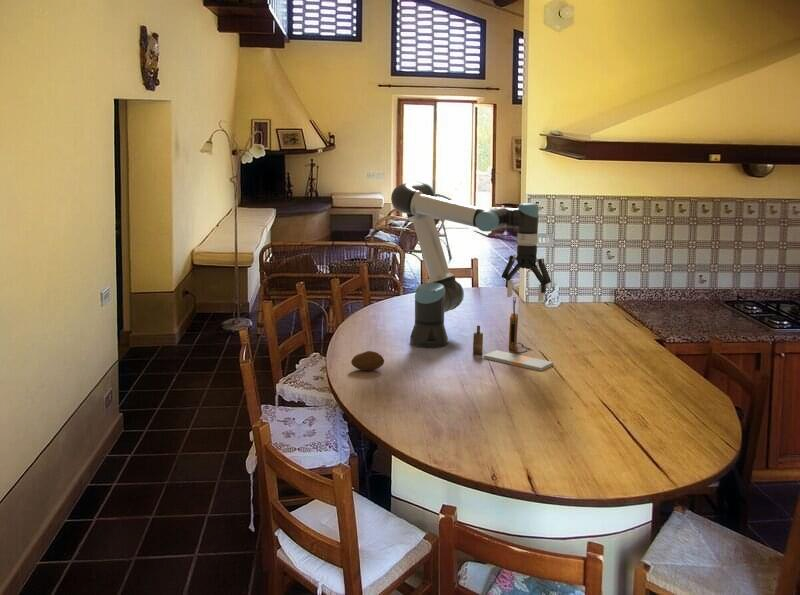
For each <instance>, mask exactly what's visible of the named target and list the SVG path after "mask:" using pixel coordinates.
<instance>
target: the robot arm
mask: <svg viewBox="0 0 800 595" xmlns="http://www.w3.org/2000/svg"><path fill="white" fill-rule="evenodd" d="M390 200H391V204H392V206H393V208H394V209H395V210H396V211H397V212H399V213H403V214H406V216H407V219H408V220H409V221H411V222H412V224H413V227H414V231H415V234H416V237H417V240H418V241H417V242H418V245H419V248H420V251H421V255H422V258H423V262H424V264H425V267H426V271H427V274H428V280H427V282H426V283H425V282H424V283H422V284H420V285H417V287H416V288H415V294H414V325H413V328H412V331H411V334H410V336H409V343H410V344H411V345H412V346H415V347H419V348H426V349H430V348H431V349H432V348H433V349H434V348H442V347H445V346H447V345H448V344H449V336H448V334H447V331H446V330H447V329H446V327H445V313H447V312H449V311H453V310H455V309H456V308H457V307H460V305H461V304H462V302H463V300H464V296H465V292H464V288H463V286H462V284H460V283H459V282H458V281H457V280H456V276H455V274H453V273H451V272H450V269H449V267H448V263H447V259H446V256H445V253H444V249H443V246H442V241H441V238H440V235H439V233H438V232H439V231H438V229H437V225H436V222H435V218H436V219H440V220H444V221H449V222H453V223H458V224H462V225H464V226H465V225H466V226H470V227H473V228H477V229H479V231H481V232H488V233H489V232H492V231H495V230H499V229H503V228H513V229H514V228H515V229H517V241H516V243H518V244H517V246H516V254H517V255H515V254H512V255H509V257H508V262H507V264H506V266H505V268H504V270H503V272H502V274H501V277H500V278H502V279H505V288H506V290H507V291H506V293H507V294H506V296H507V298H511V297H513V291H514V289H513V286H514V279H512V278H513V277H514V276H515V275H516V273H517V272H519V270H520V269H526V270H530V271H532V272H533V274H534V276H535V277H536V279H537V280H538V282H539V284H538V296H537V297H538V298H537V299H538V301H537V302H538V303H541V302H543V301H544V296H545V295H544V294H545V293H546V292H547V284H551V282H552V279H551V278H550V275H549V272H548V270H547V267H546V265H545V258H544V257H541V258H537V253H538V245H537V244H538V234H539V233H538V232H539V231H538V229H539V228H538V227H539V216H540V215H539V206H538V204H536V203H532V202H528V203H527V202H523V203H522V202H521V203H519V204H518V207H517V208H515V207H514V208H513V207H501V206H496V207H495V206H492V207H490V208H489V209H487V208H484V207H479V206H475V205H471V204H467V203H466V204H465V203H463V202H457V201H454V200H449V199H444V198H439V197H436V193H435V190H434V188H433V187H432V186H431V185H430V184H428V183H426V182H423V181H422V182H421V181H416V182H409V183H401V184H399V185H397V186H396V187H395V188H393V190H392V192H391V197H390ZM515 262H517V263H516V265H514V263H515ZM513 265H514V267H513Z"/></svg>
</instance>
